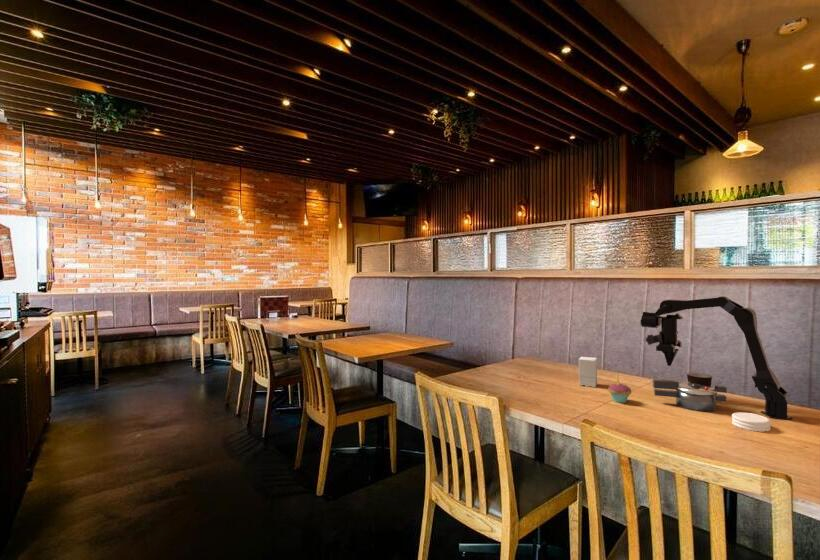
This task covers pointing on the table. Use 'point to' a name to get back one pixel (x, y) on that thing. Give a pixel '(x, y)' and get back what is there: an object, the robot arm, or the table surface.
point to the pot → (692, 400)
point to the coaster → (751, 421)
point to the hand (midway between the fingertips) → (669, 365)
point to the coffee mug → (699, 378)
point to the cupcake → (619, 391)
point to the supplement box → (588, 371)
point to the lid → (688, 387)
